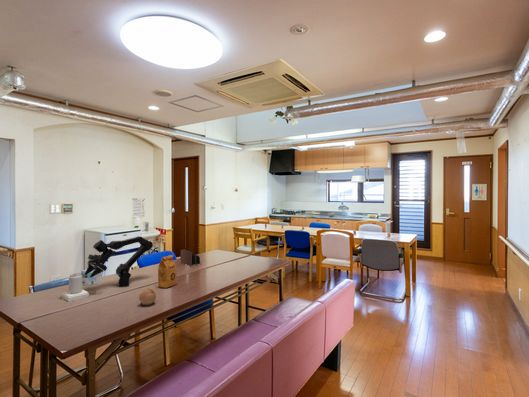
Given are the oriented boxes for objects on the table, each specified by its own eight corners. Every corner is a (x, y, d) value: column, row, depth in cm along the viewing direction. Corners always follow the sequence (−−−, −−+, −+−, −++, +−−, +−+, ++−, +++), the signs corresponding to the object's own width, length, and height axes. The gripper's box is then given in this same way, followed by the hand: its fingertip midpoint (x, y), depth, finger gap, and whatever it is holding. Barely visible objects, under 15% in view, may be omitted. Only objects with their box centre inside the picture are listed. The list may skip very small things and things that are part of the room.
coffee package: (179, 284, 220) (178, 254, 220) (166, 289, 209) (166, 258, 209) (168, 283, 224) (168, 253, 224) (156, 287, 213) (155, 256, 213)
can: (78, 289, 199) (78, 271, 199) (84, 291, 195) (84, 273, 195) (66, 293, 192) (66, 274, 192) (72, 295, 189) (72, 276, 189)
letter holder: (191, 266, 277) (190, 251, 277) (180, 263, 291) (180, 248, 291) (200, 264, 284) (200, 250, 284) (189, 261, 298) (189, 247, 298)
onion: (154, 307, 183) (161, 292, 184) (145, 309, 174) (153, 292, 176) (142, 300, 186) (150, 285, 187) (132, 301, 177) (141, 285, 178)
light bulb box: (88, 286, 218) (88, 271, 218) (80, 285, 219) (80, 270, 219) (99, 281, 228) (99, 267, 228) (91, 281, 230) (91, 267, 230)
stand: (82, 292, 202) (82, 288, 202) (89, 296, 195) (89, 292, 195) (61, 297, 193) (61, 292, 193) (68, 301, 185) (68, 296, 185)
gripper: (90, 248, 209) (72, 266, 201) (101, 251, 197) (83, 271, 189) (102, 257, 215) (85, 276, 207) (114, 260, 203) (97, 280, 195)
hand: (87, 275), depth 199 cm, fingers open, 9 cm apart
